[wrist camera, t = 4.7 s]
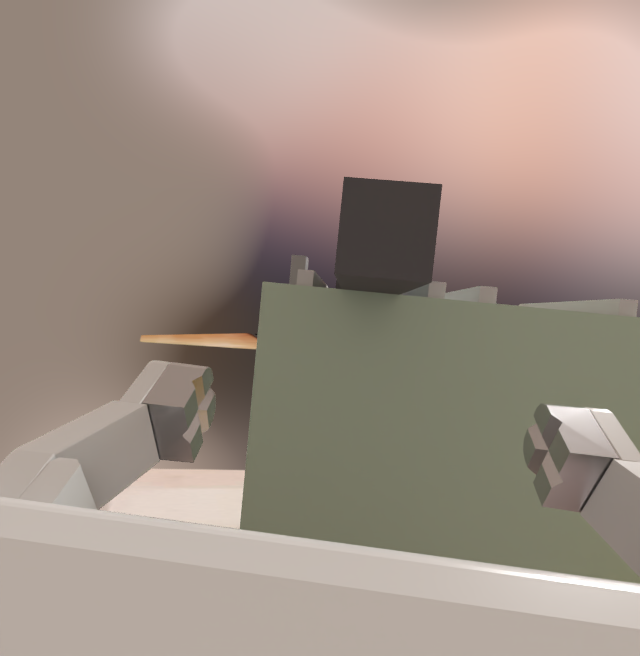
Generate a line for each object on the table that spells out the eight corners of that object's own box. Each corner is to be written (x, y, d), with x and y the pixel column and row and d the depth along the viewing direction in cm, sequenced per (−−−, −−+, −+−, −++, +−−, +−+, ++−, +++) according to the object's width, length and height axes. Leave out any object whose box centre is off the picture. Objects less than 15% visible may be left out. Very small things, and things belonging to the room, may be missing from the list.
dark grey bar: (452, 284, 15) (468, 143, 15) (313, 271, 16) (327, 133, 15) (390, 302, 40) (395, 249, 40) (337, 297, 41) (342, 244, 40)
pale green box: (620, 757, 25) (685, 268, 24) (224, 692, 27) (267, 232, 26) (516, 585, 41) (552, 286, 40) (271, 551, 43) (299, 263, 42)
